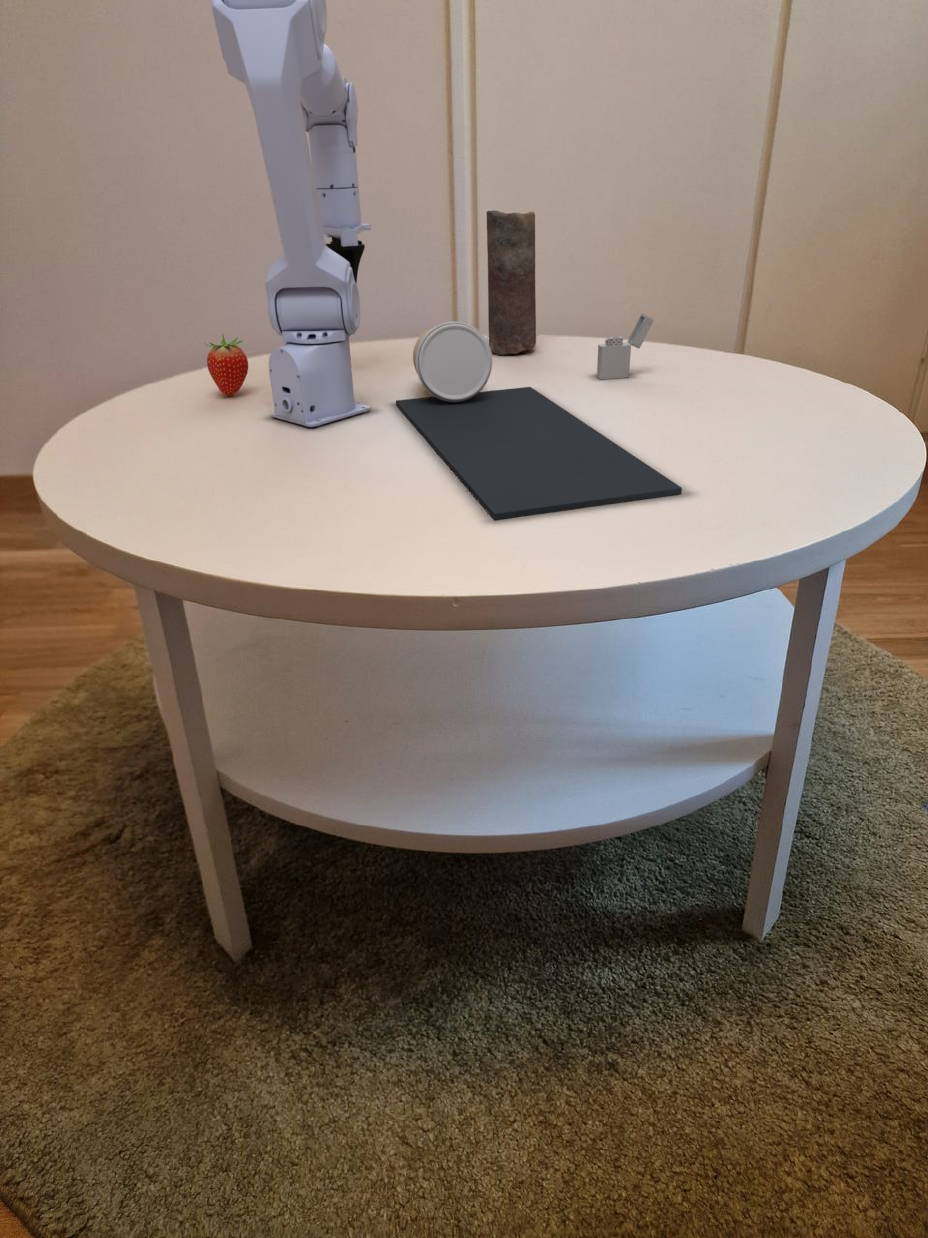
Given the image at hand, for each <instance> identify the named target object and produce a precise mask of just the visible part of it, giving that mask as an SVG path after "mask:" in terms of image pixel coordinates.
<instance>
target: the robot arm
mask: <svg viewBox="0 0 928 1238" xmlns="http://www.w3.org/2000/svg"><path fill="white" fill-rule="evenodd" d="M327 8H328V7H327V0H211V10H212V15H213V19H214V24H215V29H216V32H217V37H218V41H219V46H220V51H221V55H222V58H223V60H224V62H225V65H226V70H227V73H228V75H230V76H231V77H233V78H234V79H236V80H238V81H240V82H241V83H243V84H244V85H245V87H246V92H247V95H248V97H249V102H250V104H251V108H252V112H253V116H254V120H255V124H256V128H257V134H258V136H259V137H258V138H259V139H258V140H259V143H260V147H261V151H262V152H261V153H262V157H263V162H264V166H265V172H266V175H267V181H268V185H269V190H270V195H271V199H272V204H273V209H274V212H275V217H276V223H277V227H278V232H279V237H280V241H281V246H282V250H283V253H281V254H280V255H279V256H278V257H277V258H276V259H275V260H274V261H273V262H272V263H271V264H270V265H269V266H268V269H267V273H266V276H265V281H264V286H265V292H266V303H267V313H268V319H269V323H270V325H271V328H272V330H274V331H275V332H276V334H277V335H278V336H281V337H282V342H283V343H285V344H283V345H281V346H279V347H277V348H275V349H273V350H272V351H271V353H270V355H269V358H268V373H269V380H270V387H271V395H272V402H273V403H272V404H273V410H274V411H273V412H271V413H270V415H271V417H272V418H275V419H279V420H282V421H286V422H290V423H293V424H297V425H300V426H304V427H308V428H316V427H319V426H323V425H325V424H329V423H332V422H335V421H340V420H343V419H346V418H350V417H353V416H356V415H359V414H363V413H366V412H369V411H371V406H370V405H366V404H362V403H357V402H355V390H354V379H353V369H352V358H351V347H350V337H351V336H353V335H356V332H357V331H358V329H359V328H360V323H361V300H360V293H359V288H358V273H359V267H360V263H361V259H362V256H363V255H364V252H365V247H366V245H365V244H364V243H363V242H362V240H360V239H358V235H359V234H361V233H362V232H364V231H370V230H371V229H372V225H371V224H370V223H362V213H361V201H360V200H361V199H360V189H359V187H360V186H359V177H358V176H359V175H358V163H357V162H358V161H357V152H356V147H358V143H359V141H358V140H359V139H358V119H359V111H358V109H359V108H358V106H359V105H358V99H357V98H358V97H357V93H356V88H355V85H354V82H348V80H347V78H346V77H343V75H342V73H341V70H340V67H339V65H338V63H337V60H336V57H335V55H334V53H333V51H332V50H331V48H330V47H329V46H328V45H326V43H325V39H326V33H327V30H328V29H327V27H328V11H327V10H328V9H327ZM307 133H308V136H307ZM308 140H309V141H308ZM308 142H309V143H308ZM325 238H327V239H328V238H329V239H331V241H330V242H329V243H326V239H325Z"/></svg>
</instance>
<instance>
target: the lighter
mask: <svg viewBox="0 0 928 1238" xmlns="http://www.w3.org/2000/svg"><path fill="white" fill-rule="evenodd" d="M654 321H655V319H654V318H653V317H650V316H648V315H647V314H644V313H641V314H640V315H639V318H638V320H637V322H636V323H635V326H634V327H633V330H632V331H631V334H630V336H629V338H628V340H627V342H624V337H623V336H619V335H618V336H608V337H607V338H605V340H604V343H600V344H598V345H597V364H596V378H597V379H598V380H610V379H626V378H629V377H630V368H631V353H632V347H635V348H636V349H640V348H641V347H642V345H643V343H644V342H645V339H646V338H647V335H648V333H649V332H650V329H651V327H652V325H653V323H654Z"/></svg>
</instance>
